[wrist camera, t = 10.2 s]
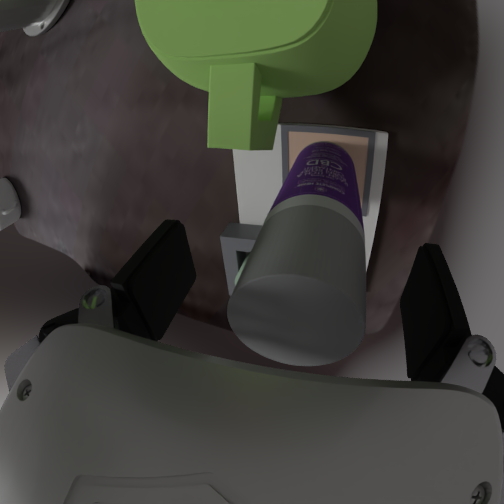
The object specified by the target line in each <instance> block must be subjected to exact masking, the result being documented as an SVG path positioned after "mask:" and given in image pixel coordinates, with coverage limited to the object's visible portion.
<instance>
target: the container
mask: <svg viewBox="0 0 504 504" xmlns="http://www.w3.org/2000/svg"><path fill="white" fill-rule="evenodd" d="M227 316H228V320H229V323H230V326H231V328H232V329H233V331H234V333H235V334H236V335H237V337H238V338H239V339H240V340H241V341H242V342H243V343H244V344H246V345H247V346H248V347H249V348H251V349H252V350H254V351H255V352H257V353H259V354H261V355H263V356H265V357H267V358H269V359H272V360H275V361H278V362H281V363H286V364H290V365H298V366H317V365H324V364H329V363H333V362H336V361H338V360H340V359H343V358H344V357H346V356H348V355H349V354H351V353H352V352H353V351H354V350H355V349H356V348H357V347H358V346H359V345H360V343H361V342H362V340H363V337H364V334H365V328H366V253H365V233H364V225H363V217H362V209H361V202H360V196H359V189H358V183H357V178H356V172H355V167H354V163H353V160H352V158H351V156H350V155H349V154H348V152H347V151H346V150H345V149H344V148H342V147H341V146H339V145H337V144H335V143H332V142H327V141H319V142H314V143H311V144H309V145H308V146H306V147H305V148H304V149H303V150H302V151H301V152H300V153H299V155H298V156H297V158H296V160H295V162H294V164H293V166H292V168H291V170H290V172H289V174H288V176H287V178H286V180H285V182H284V183H283V185H282V187H281V189H280V191H279V193H278V195H277V197H276V199H275V201H274V203H273V205H272V207H271V209H270V211H269V213H268V215H267V217H266V219H265V221H264V223H263V226H262V228H261V230H260V232H259V234H258V237H257V239H256V241H255V243H254V246H253V248H252V250H251V252H250V255H249V257H248V259H247V261H246V264H245V266H244V268H243V270H242V272H241V275H240V277H239V279H238V281H237V284H236V286H235V288H234V290H233V293H232V295H231V297H230V299H229V302H228V306H227Z"/></svg>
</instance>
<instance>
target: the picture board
mask: <svg viewBox="0 0 504 504" xmlns="http://www.w3.org/2000/svg"><path fill="white" fill-rule="evenodd" d="M319 141H327V142H332V143H335V144H337V145H339V146H341V147H342V148H344V149H345V150H346V151H347V152H348V154H349V155H350V156H351V158H352V160H353V163H354V167H355V172H356V178H357V183H358V189H359V196H360V202H361V209H362V217H363V225H364V233H365V253H366V271H367V267H368V262H369V258H370V254H371V249H372V244H373V239H374V234H375V229H376V224H377V218H378V213H379V207H380V201H381V194H382V187H383V180H384V172H385V164H386V154H387V144H388V133H387V132H385V131H378V130H370V129H363V128H354V127H344V126H333V125H319V124H300V123H278V125H277V130H276V136H275V141H274V146H273V150H254V151H249V150H238V149H233V157H234V168H235V178H236V188H237V198H238V209H239V219H240V223H229V224H228V226H227V227H226V229H225V230H224V231H223V233H222V234H221V236H220V239H221V246H222V252H223V259H224V265H225V271H226V277H227V284H228V290H229V295H232V293H233V290H234V288H235V278H236V276H237V274H238V272H239V270H240V268H241V266H242V264H243V262H244V260H245V258H246V256H247V254H248V253H249V252H251V250H252V248H253V246H254V243H255V241H256V239H257V237H258V234H259V232H260V230H261V228H262V226H263V223H264V221H265V219H266V217H267V215H268V213H269V211H270V209H271V207H272V205H273V203H274V201H275V199H276V197H277V195H278V193H279V191H280V189H281V187H282V185H283V183H284V182H285V180H286V178H287V176H288V174H289V172H290V170H291V168H292V166H293V164H294V162H295V160H296V158H297V156H298V155H299V153H300V152H301V151H302V150H303V149H304V148H305V147H306V146H308V145H309V144H311V143H314V142H319Z"/></svg>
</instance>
